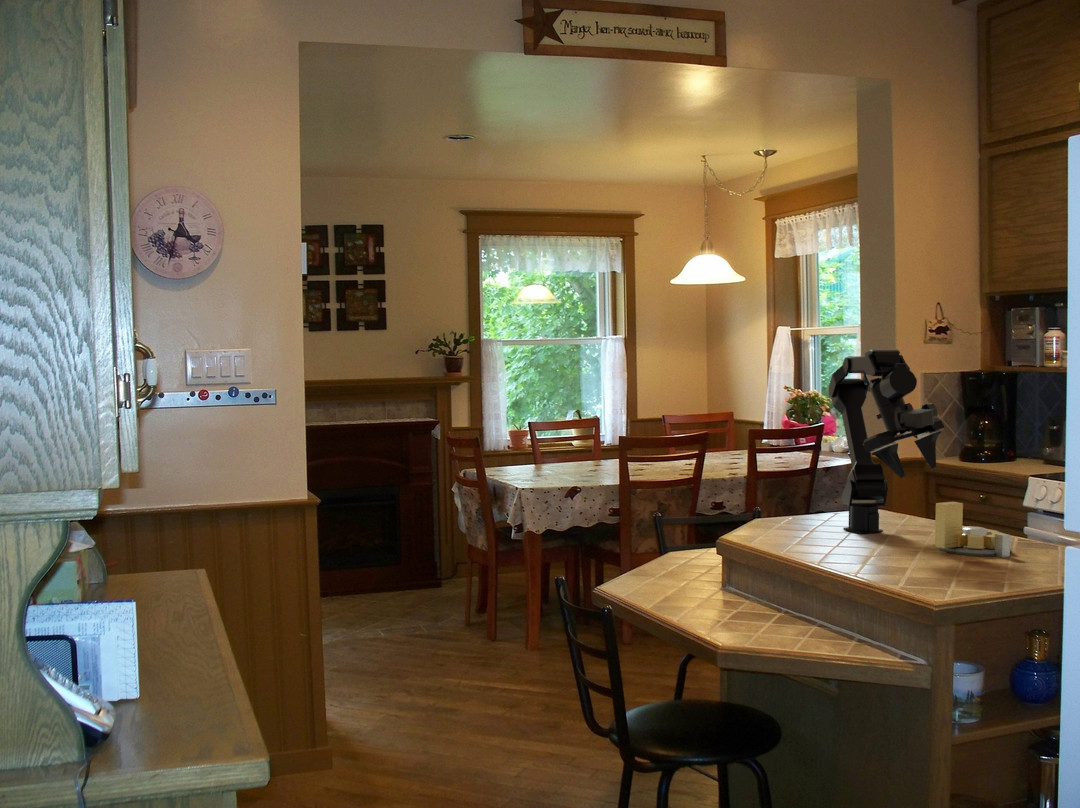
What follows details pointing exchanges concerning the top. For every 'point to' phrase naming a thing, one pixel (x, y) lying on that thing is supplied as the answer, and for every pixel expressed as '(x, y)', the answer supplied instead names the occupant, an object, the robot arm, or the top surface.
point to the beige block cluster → (957, 529)
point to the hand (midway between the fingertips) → (918, 472)
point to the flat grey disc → (1000, 547)
